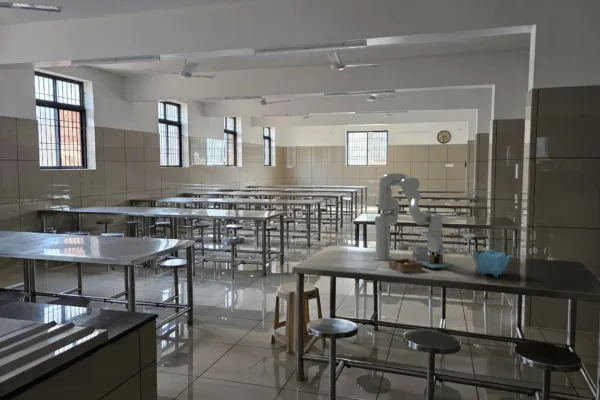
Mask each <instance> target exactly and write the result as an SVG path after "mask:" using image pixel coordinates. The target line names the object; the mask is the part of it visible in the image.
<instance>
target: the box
mask: <svg viewBox="0 0 600 400" xmlns="http://www.w3.org/2000/svg"><path fill="white" fill-rule="evenodd" d="M404 263H408V264H404ZM388 269H390V270H393V271H395V272H398V273H401V274H409V273H419V272H422V271H423V265H422V263H420V262H417V261H414V260H413V259H411V258H400V259H399V258H398V259H391V260H388Z"/></svg>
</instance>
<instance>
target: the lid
mask: <svg viewBox="0 0 600 400" xmlns="http://www.w3.org/2000/svg"><path fill="white" fill-rule="evenodd" d="M434 261H435V255H430V254H428V255H427V261H417V262H420V263H422V266H425V267H427V268H430V269H436V268H437V269H440V268H449V267H454V265H455V264H452V263H449V262H446V261H444V254H442V255H440V257H439V263H436V264H435V263H434Z"/></svg>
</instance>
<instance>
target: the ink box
mask: <svg viewBox="0 0 600 400" xmlns="http://www.w3.org/2000/svg"><path fill="white" fill-rule="evenodd" d="M412 248H413V249H412V260H414V261H427V255H429V251H428V250H427V245H424V244H423V245H413V246H412Z"/></svg>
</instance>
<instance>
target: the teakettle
mask: <svg viewBox="0 0 600 400" xmlns="http://www.w3.org/2000/svg"><path fill="white" fill-rule="evenodd" d="M470 251H471V252H472V253H473V255H474V256H475V261H476V263H477V269H476V270H477V273H480V276H486V275H487V274H489V275H492V277H493V276H495V277H494V278H499V276H501V275H503V273H504V272H505V271H506V267H507V266H508V264H509V261H510V259H511V258H512V257H514V255H512V254H509V255H507V253H505V252H499V251H496V250H495V249H489V250H485V251H482V252H480V253H478V252H477V250H472V249H471V250H470Z"/></svg>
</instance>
